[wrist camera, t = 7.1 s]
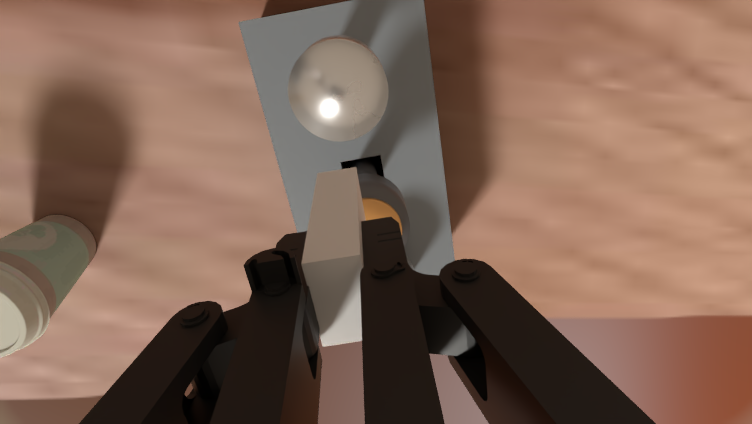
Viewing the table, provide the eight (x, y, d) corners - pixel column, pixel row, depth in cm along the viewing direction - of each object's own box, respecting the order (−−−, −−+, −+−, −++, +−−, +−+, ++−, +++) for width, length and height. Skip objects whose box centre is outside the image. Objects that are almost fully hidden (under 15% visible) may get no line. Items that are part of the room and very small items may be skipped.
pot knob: (325, 142, 36) (314, 200, 25) (389, 130, 36) (403, 184, 25) (339, 200, 38) (333, 276, 27) (399, 189, 38) (416, 262, 27)
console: (261, 17, 37) (238, 22, 30) (408, -11, 36) (422, -14, 29) (326, 268, 47) (321, 317, 40) (442, 248, 47) (458, 294, 39)
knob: (301, 33, 32) (276, 50, 22) (371, 20, 32) (379, 30, 22) (317, 104, 34) (301, 149, 24) (382, 91, 34) (395, 132, 24)
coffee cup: (100, 201, 43) (15, 270, 32) (119, 279, 46) (47, 364, 36) (5, 200, 42) (-115, 269, 31) (31, 278, 46) (-69, 365, 35)
